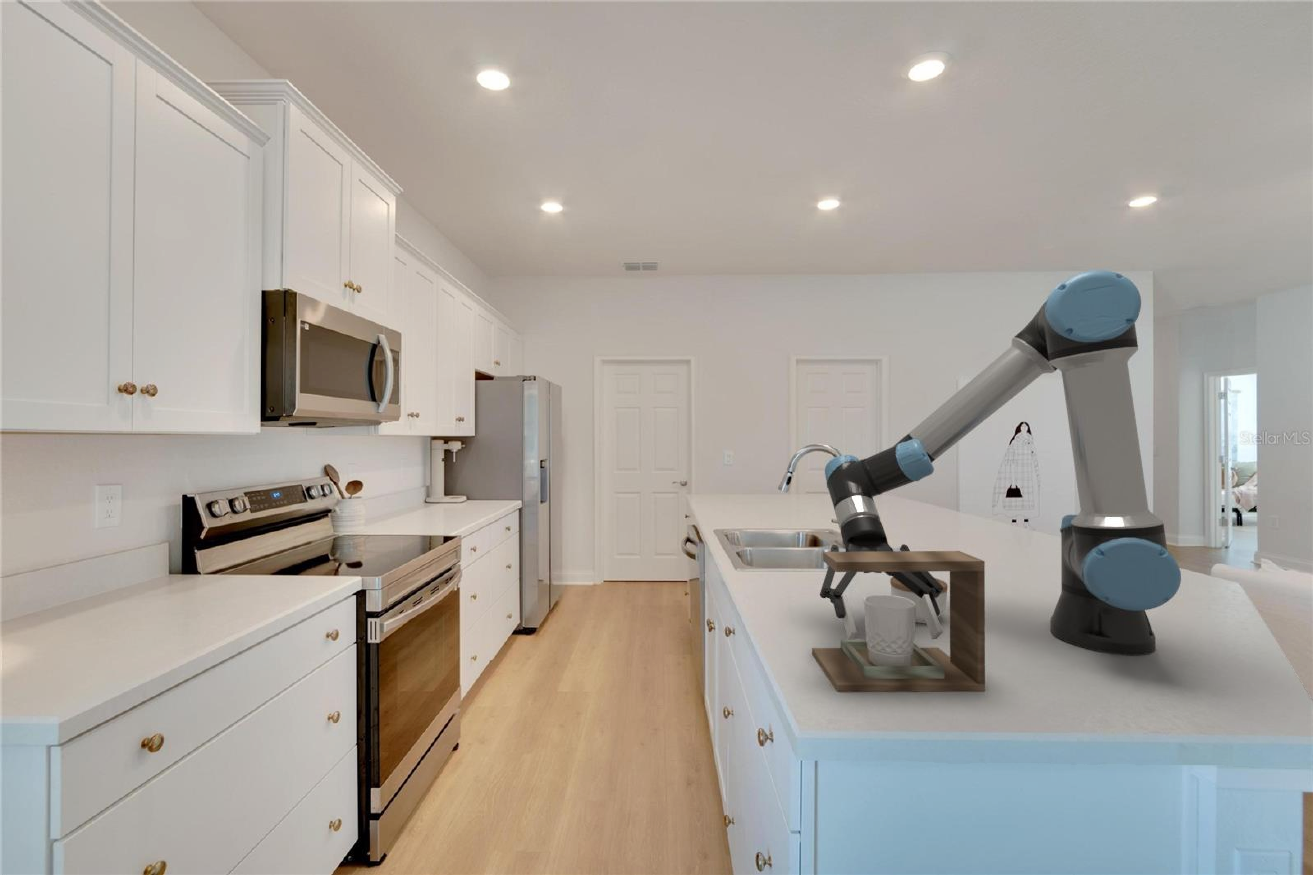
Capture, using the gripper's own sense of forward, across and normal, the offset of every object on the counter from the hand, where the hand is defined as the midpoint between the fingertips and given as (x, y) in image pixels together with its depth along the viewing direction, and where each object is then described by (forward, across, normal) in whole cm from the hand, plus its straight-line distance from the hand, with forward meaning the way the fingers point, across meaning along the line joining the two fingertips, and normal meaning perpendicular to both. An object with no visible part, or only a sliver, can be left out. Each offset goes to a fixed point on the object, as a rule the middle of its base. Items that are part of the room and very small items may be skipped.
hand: (894, 636), depth 87 cm
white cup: (+2, 0, -6) cm, 6 cm away
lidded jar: (-14, -16, -23) cm, 32 cm away
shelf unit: (+3, 0, -5) cm, 6 cm away
